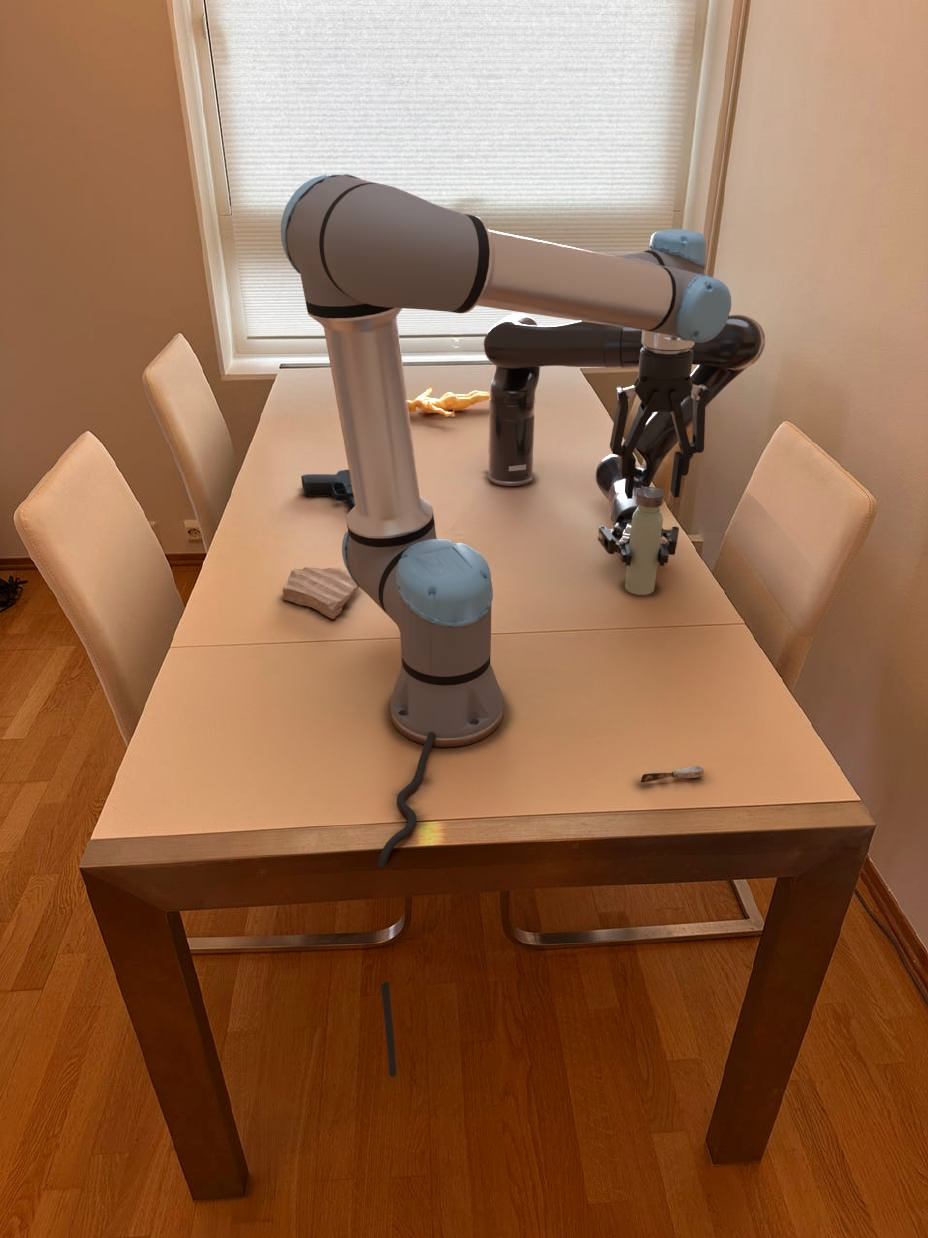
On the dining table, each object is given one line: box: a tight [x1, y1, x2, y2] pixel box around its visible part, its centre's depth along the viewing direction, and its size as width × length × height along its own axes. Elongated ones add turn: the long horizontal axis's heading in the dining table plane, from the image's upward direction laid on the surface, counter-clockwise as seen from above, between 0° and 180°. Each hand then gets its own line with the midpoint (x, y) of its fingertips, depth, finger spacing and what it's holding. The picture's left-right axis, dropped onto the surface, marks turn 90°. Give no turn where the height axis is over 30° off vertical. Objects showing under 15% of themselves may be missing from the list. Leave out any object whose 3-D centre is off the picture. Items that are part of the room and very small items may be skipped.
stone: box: [281, 566, 360, 620], centre depth 147 cm, size 13×12×3 cm
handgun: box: [301, 469, 355, 511], centre depth 178 cm, size 3×18×12 cm
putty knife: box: [640, 765, 705, 784], centre depth 109 cm, size 1×8×2 cm, turn 103°
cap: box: [636, 486, 666, 508], centre depth 141 cm, size 4×4×2 cm
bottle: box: [624, 505, 664, 596], centre depth 145 cm, size 5×5×17 cm
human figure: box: [407, 385, 490, 418], centre depth 225 cm, size 20×20×4 cm
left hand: (651, 494), depth 140 cm, fingers open, 7 cm apart
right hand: (645, 560), depth 144 cm, fingers closed on bottle, 5 cm apart
